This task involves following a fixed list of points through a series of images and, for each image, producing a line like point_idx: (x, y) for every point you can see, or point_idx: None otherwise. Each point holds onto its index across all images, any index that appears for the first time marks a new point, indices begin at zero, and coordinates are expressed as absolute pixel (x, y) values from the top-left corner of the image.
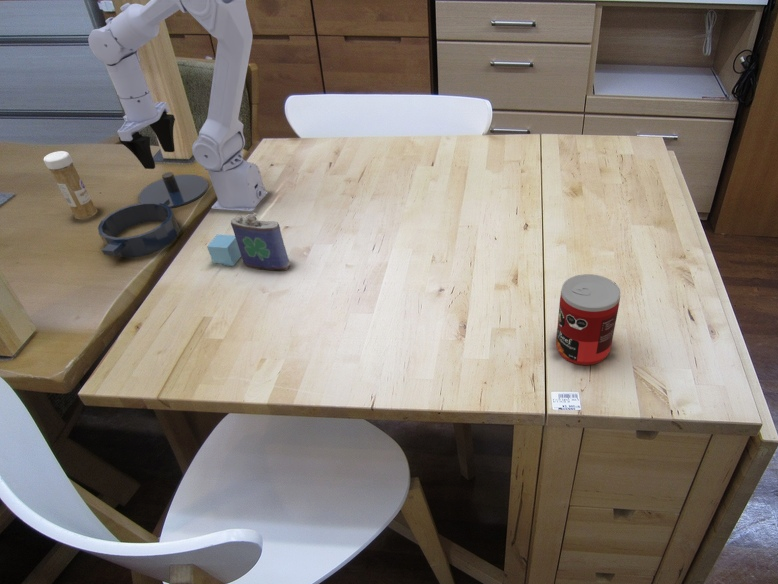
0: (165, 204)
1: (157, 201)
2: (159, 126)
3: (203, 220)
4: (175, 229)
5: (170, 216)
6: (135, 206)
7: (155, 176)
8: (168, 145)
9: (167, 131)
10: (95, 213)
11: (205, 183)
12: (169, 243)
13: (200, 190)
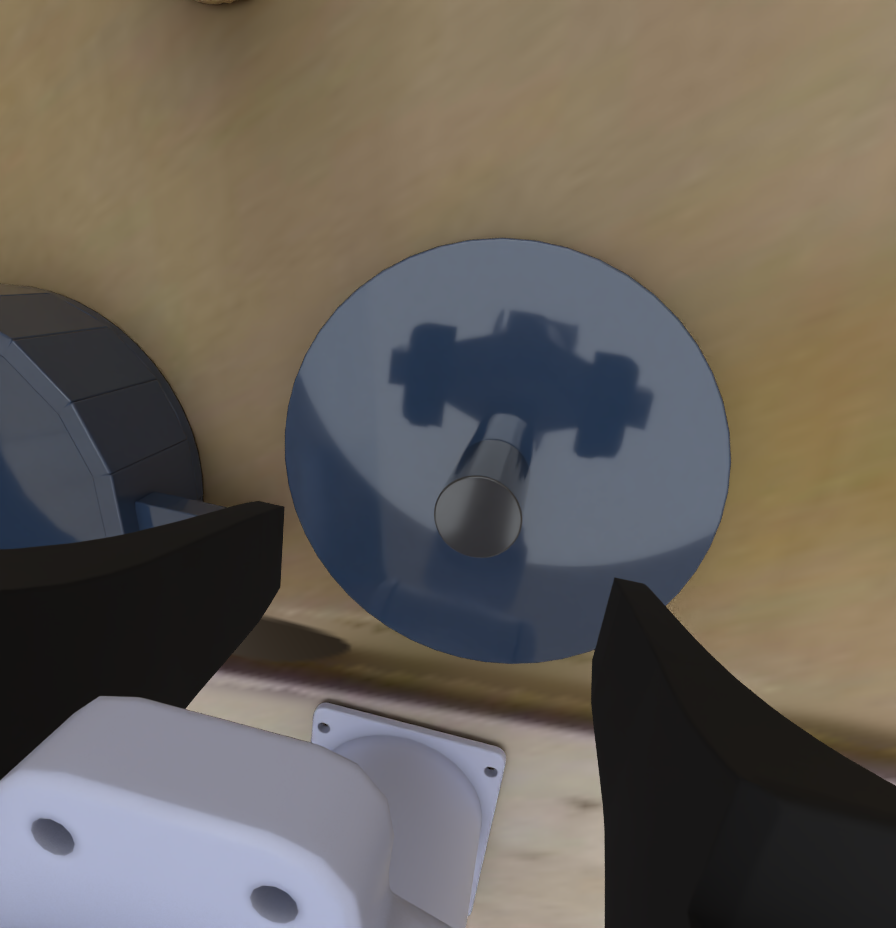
0: None
1: None
2: (647, 871)
3: (236, 677)
4: None
5: None
6: (72, 433)
7: (822, 197)
8: (603, 684)
9: (610, 877)
10: (207, 2)
11: (566, 646)
12: None
13: (477, 637)
